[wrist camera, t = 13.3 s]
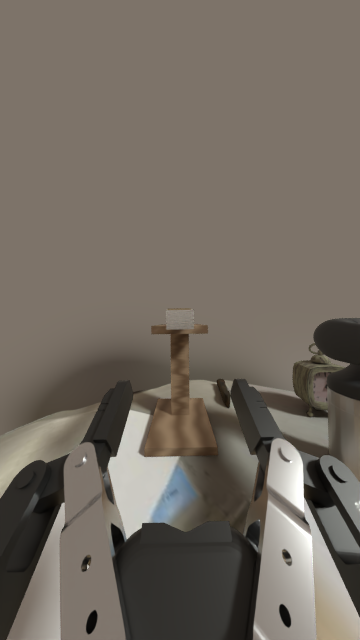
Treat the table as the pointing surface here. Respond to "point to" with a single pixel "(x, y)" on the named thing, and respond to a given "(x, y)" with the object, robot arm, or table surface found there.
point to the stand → (180, 407)
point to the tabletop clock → (313, 380)
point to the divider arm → (179, 319)
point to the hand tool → (224, 392)
